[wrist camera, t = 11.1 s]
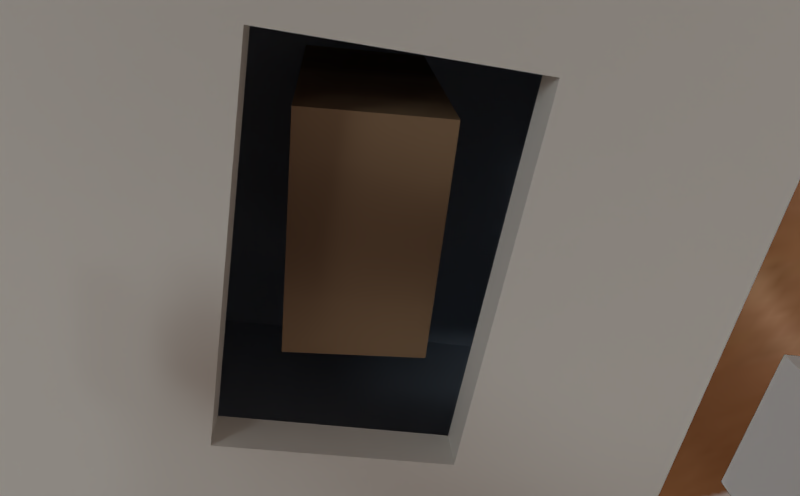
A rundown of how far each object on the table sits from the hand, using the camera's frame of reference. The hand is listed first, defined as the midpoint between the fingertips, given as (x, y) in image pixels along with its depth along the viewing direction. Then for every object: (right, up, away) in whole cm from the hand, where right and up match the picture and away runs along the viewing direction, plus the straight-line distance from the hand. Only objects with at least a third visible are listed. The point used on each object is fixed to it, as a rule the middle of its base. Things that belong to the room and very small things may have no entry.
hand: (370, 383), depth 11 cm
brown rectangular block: (-1, +5, +11) cm, 12 cm away
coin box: (-1, +6, +12) cm, 13 cm away
